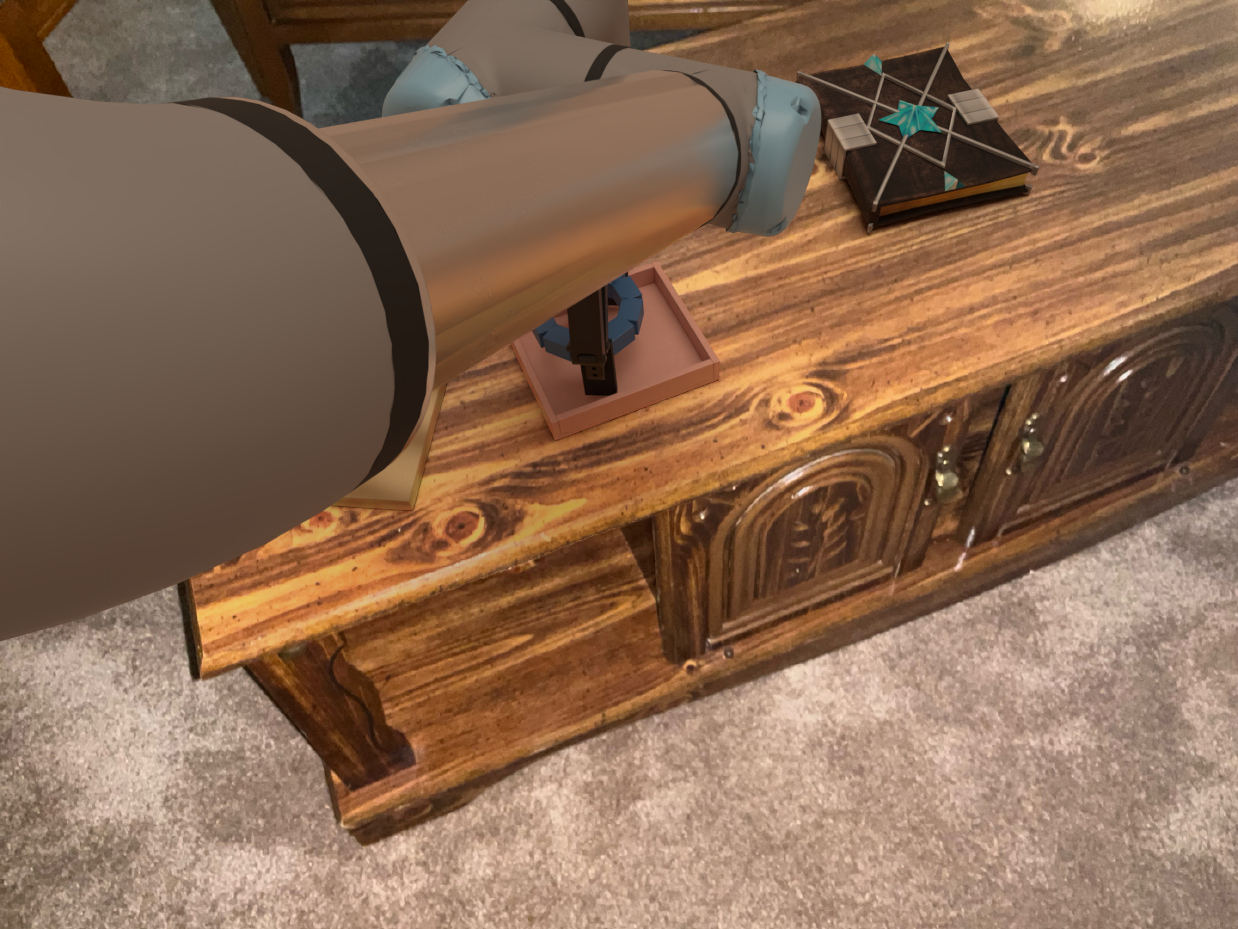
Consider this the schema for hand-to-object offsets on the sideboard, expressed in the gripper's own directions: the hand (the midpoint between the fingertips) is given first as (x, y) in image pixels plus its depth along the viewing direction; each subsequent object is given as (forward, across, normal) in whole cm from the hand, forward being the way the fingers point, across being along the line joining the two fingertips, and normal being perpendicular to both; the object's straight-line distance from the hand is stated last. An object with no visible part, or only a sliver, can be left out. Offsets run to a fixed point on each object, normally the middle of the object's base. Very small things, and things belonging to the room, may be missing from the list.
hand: (608, 345), depth 84 cm
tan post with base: (+1, -10, +21) cm, 23 cm away
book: (+2, +29, -27) cm, 40 cm away
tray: (+1, 0, 0) cm, 1 cm away
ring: (-3, 0, +2) cm, 4 cm away
